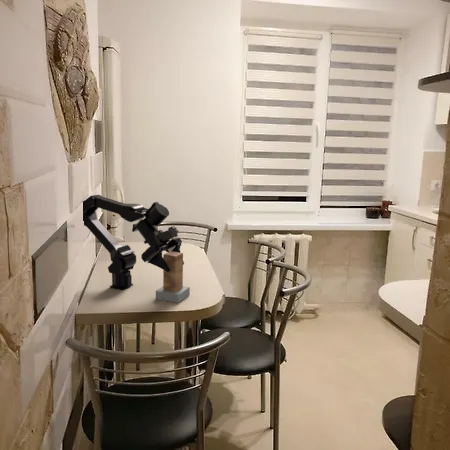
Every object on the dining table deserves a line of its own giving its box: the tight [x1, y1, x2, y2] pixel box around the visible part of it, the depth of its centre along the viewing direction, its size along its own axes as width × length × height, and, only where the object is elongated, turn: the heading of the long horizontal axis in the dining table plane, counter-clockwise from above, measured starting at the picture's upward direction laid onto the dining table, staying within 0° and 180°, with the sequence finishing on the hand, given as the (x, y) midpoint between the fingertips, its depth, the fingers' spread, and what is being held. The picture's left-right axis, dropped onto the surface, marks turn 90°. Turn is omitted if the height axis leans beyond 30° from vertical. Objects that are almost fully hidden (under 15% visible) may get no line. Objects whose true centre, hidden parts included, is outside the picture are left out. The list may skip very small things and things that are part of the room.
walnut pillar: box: [162, 251, 184, 292], centre depth 159 cm, size 5×5×13 cm
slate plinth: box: [155, 285, 191, 304], centre depth 161 cm, size 9×9×3 cm
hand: (176, 267), depth 158 cm, fingers open, 9 cm apart
